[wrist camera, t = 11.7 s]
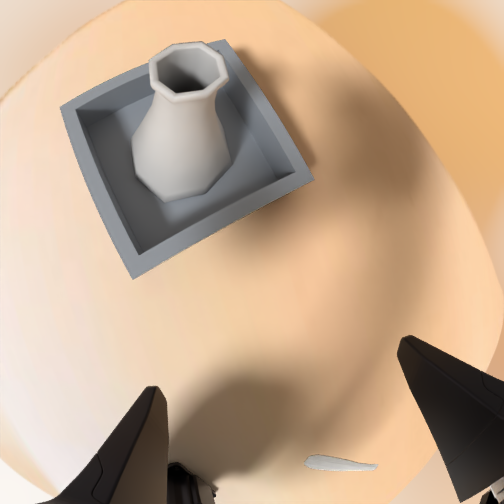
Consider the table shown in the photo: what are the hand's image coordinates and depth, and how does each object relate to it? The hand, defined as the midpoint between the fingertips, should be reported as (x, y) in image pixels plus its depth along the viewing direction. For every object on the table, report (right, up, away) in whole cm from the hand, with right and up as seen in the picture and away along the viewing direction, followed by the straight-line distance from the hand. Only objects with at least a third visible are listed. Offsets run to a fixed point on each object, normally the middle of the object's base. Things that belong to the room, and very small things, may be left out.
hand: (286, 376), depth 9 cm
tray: (-7, +11, +11) cm, 17 cm away
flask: (-6, +11, +10) cm, 16 cm away
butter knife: (+15, -24, +17) cm, 33 cm away
